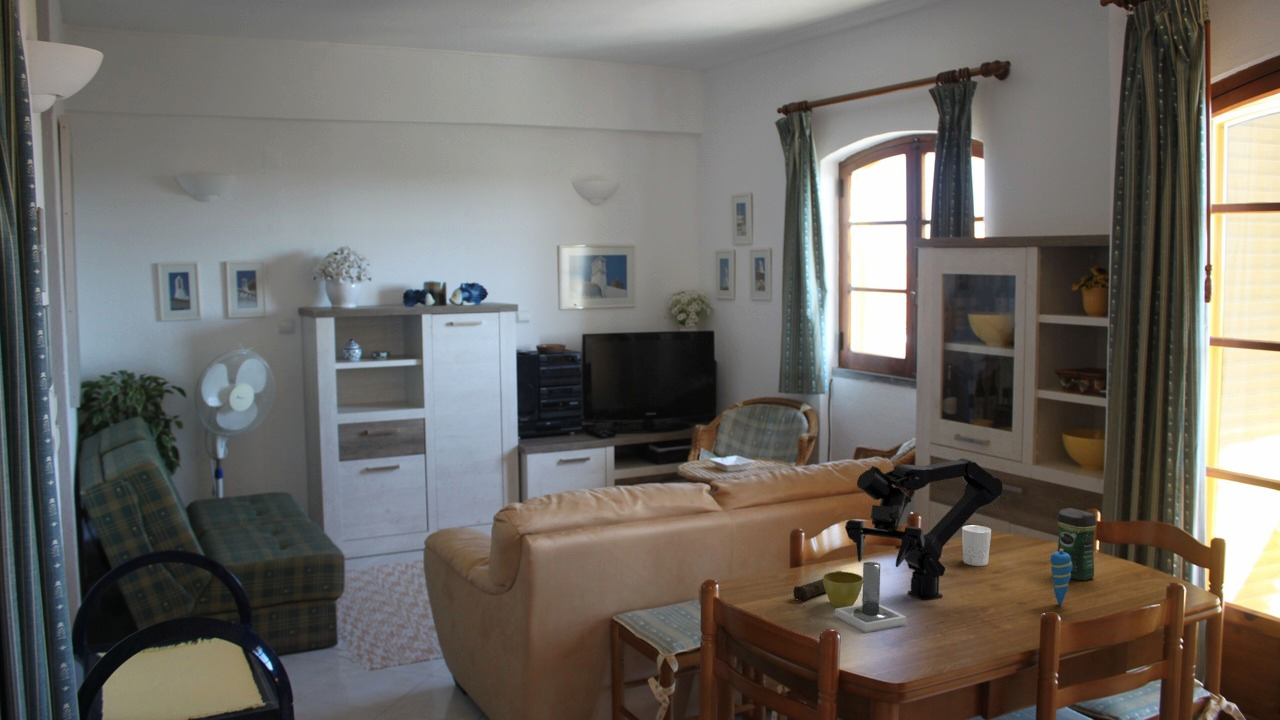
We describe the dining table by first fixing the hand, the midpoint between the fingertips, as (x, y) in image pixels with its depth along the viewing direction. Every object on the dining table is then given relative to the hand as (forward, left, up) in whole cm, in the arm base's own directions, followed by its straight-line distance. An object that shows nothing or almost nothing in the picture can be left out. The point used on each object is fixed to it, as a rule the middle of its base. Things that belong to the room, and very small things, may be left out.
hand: (877, 563), depth 252 cm
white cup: (-54, -24, -13) cm, 61 cm away
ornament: (-47, +13, -13) cm, 51 cm away
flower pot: (+3, -10, -13) cm, 17 cm away
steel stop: (+4, +3, -12) cm, 13 cm away
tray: (+4, +3, -13) cm, 14 cm away
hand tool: (+2, -20, -13) cm, 24 cm away
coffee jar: (-70, -3, -13) cm, 71 cm away
